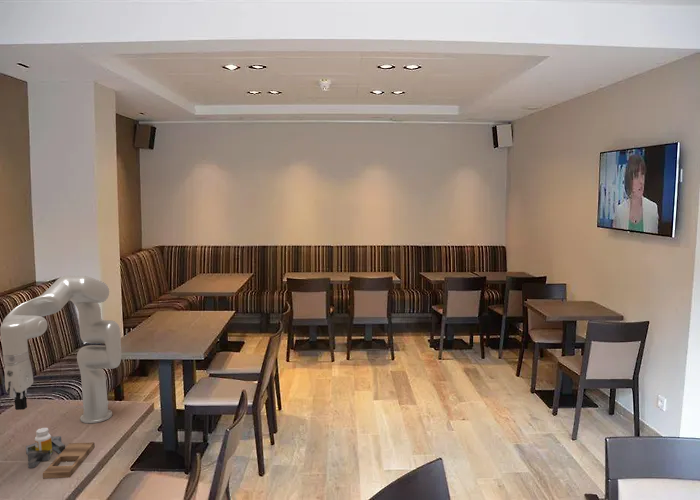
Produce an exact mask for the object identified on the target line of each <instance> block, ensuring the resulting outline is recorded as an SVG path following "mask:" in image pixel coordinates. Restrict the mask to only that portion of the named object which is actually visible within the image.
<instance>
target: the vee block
mask: <svg viewBox="0 0 700 500" xmlns="http://www.w3.org/2000/svg"><path fill="white" fill-rule="evenodd" d="M51 441H52V451H53V450H54V452H56V453H58V454H59V455H60V454H61V452H62V451H63V450H64V449H65V448H66V444H65V443H63V442H62V436H61V435H60V436H58V435H57V436H55V435H53V436H51ZM25 451H26V455H27V456H28V453H29V452H30V451H36V448H35V442H34V443H32V444H28V445H25Z"/></svg>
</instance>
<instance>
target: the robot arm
mask: <svg viewBox="0 0 700 500" xmlns="http://www.w3.org/2000/svg"><path fill="white" fill-rule="evenodd" d="M109 296H110V289H109V286H108V284H106V283H105V281H102V280H99V279H96V278H92V277H90V276H86V275H85V276H84V275H65V276H61V277H58V279H56V280H55V281H54V282H53V283H52V284H51V286H49V288H47V289H46V290H45V291H44V292H43V293H42V294H41V295H38V296H37V297H34V298H32V299H30V300H27V301H24V302H22V303H20V304H18V305H17V306H16V307H14V308H12V310H11V311H10V312H9V313H8V314H7V315H6V316H5V317H4V318H3V321H2V323H1V324H0V339H1V348H2V359H3V365H4V387H5V391H6V393H7V394H9V398H11V399H13V400H14V407H15V410H16V411H21V410H22V411H23V410H25V409H26V408H27V407H28V402H27V401H28V400H27V396H28V395H27V394H28V392H27V391H28V389H29V387H31V386H32V385H33V384H34V375H33V369H32V368H33V367H32V363H31V360H30V353H29V344H28V340H29V339H34V338H39V337H40V336H42V335H44V333H46V331H47V329H48V321H47V320H46V318H45V316H46V317H47V316H50V315H53V314H56V313H58V312H60V311H61V310H62V309H63V308H64V306H66V304H67V303H68V302H69V301H70V302H72V303H73V304H74V306H75V307H76V309H77V313H78V322H79V323H78V324H79V335H80V339H81V342H84V343H87V344H88V343H89V344H92V345H85V346H82V347H81V348H79V350H78V351H77V354H76V361H77V365H78V368H79V373H80V379H81V382H80V383H81V391H82V392H81V394H82V395H81V396H82V405H83V406H82V407H83V414H81V415H80V417H79V420H80V422H82V423H83V424H97V423H101V422H104V421H107V420H108V419H110V418H111V417H112V416H113V411H112V410H110V409H109V406H108V405H109V404H110V401H109V400H108V391H107V377H106V373H105V371H104V370H105V369H106V370H107V369H108V370H109V369H111V370H112V369H116V368H118V367H119V366H120V364H121V362H122V340H121V339H122V337H121V328H120V325H119V324H118V322H117V321H115V320H106V319H105V320H104V319H102V310H101V307H100V303H101V304H102V303H104V302H105V301H107V299H108V298H109ZM94 344H95V345H94ZM96 344H98V345H96ZM99 344H104V345H99Z"/></svg>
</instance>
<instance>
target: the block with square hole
mask: <svg viewBox="0 0 700 500" xmlns="http://www.w3.org/2000/svg"><path fill="white" fill-rule="evenodd" d="M94 448H95V442H94V441H93V442H72V443H71V442H70V443H68V444H67V446H65V449H64V450H63V451H62V452H61V454H59V455H58V456H56V458H55V459H53V461H52V462H51V463H50V465H49V466H48V467H47V468H46V469H44V471H43V472H42V478H43V479H63V478H65V479H66V478H72V476H73V474H74V473H76V471H77V470H78V468H79V467H80V466H81V465H82V463H83V462H84V461H85V460H86V459H87V457H88V456H89V455H90V453H91V452H92V451H93V450H94ZM66 461H67V462H69V463H70V462H74V463H73V464H72V465H60V463H62V462H63V463H66Z"/></svg>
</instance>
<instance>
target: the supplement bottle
mask: <svg viewBox="0 0 700 500" xmlns="http://www.w3.org/2000/svg"><path fill="white" fill-rule="evenodd" d="M35 435H36V436H35V437H34V443H35V448H36V451H42V450H50V456H52V454H53V449H52V441H51V437H52V435H51V434H50V432H49V428H48V427H42V428H38V429H36V430H35Z"/></svg>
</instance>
